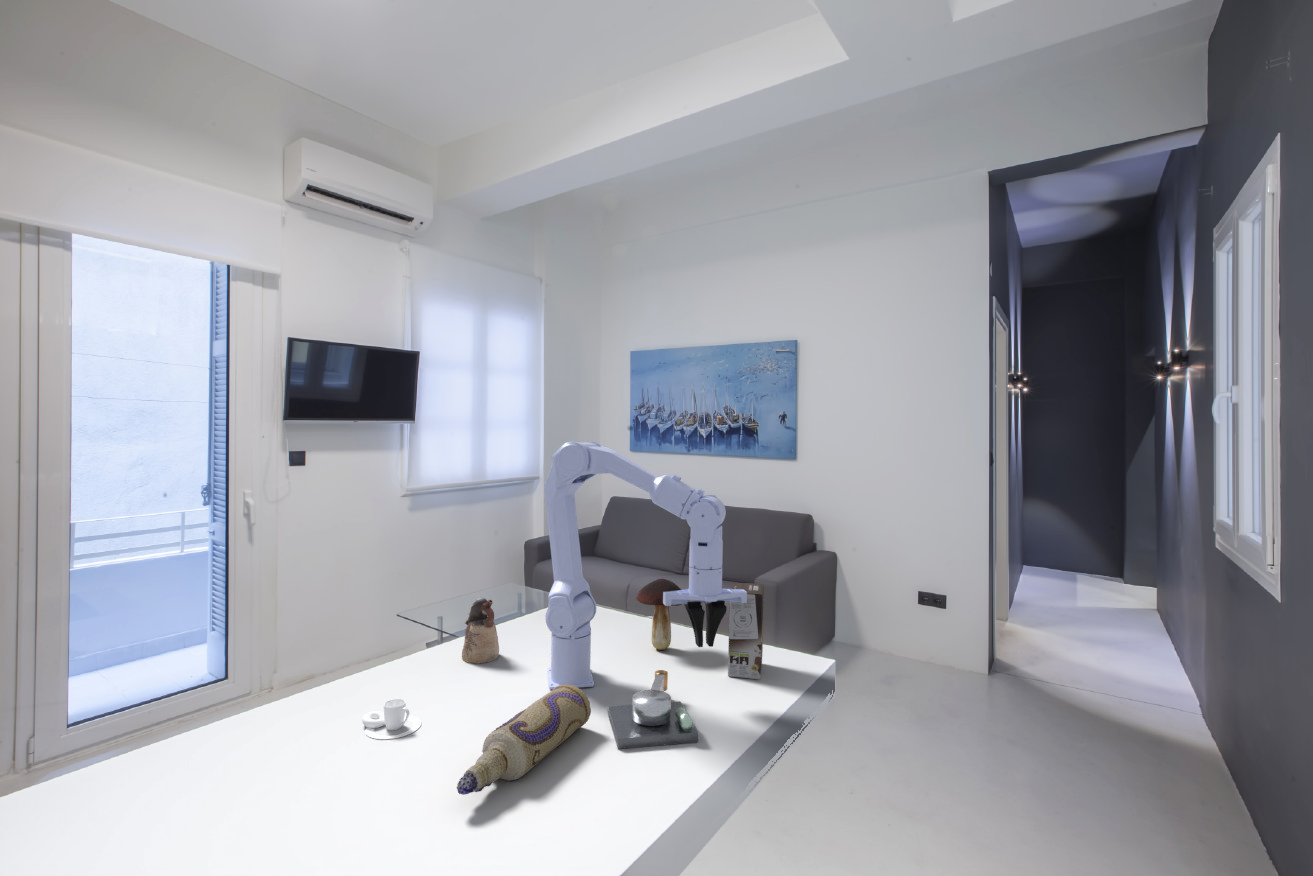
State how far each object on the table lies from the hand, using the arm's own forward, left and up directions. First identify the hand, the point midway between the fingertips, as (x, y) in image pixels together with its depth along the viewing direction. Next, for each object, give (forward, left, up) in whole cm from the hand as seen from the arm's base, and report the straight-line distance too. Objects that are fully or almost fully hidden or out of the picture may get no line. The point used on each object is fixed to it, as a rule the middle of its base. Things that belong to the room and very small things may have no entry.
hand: (704, 645), depth 108 cm
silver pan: (+5, -9, -8) cm, 13 cm away
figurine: (-27, -39, -10) cm, 48 cm away
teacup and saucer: (-1, -50, -10) cm, 51 cm away
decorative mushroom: (-26, -2, -10) cm, 28 cm away
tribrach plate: (+9, -11, -9) cm, 17 cm away
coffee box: (-12, +12, -10) cm, 19 cm away
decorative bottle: (+15, -31, -10) cm, 35 cm away
